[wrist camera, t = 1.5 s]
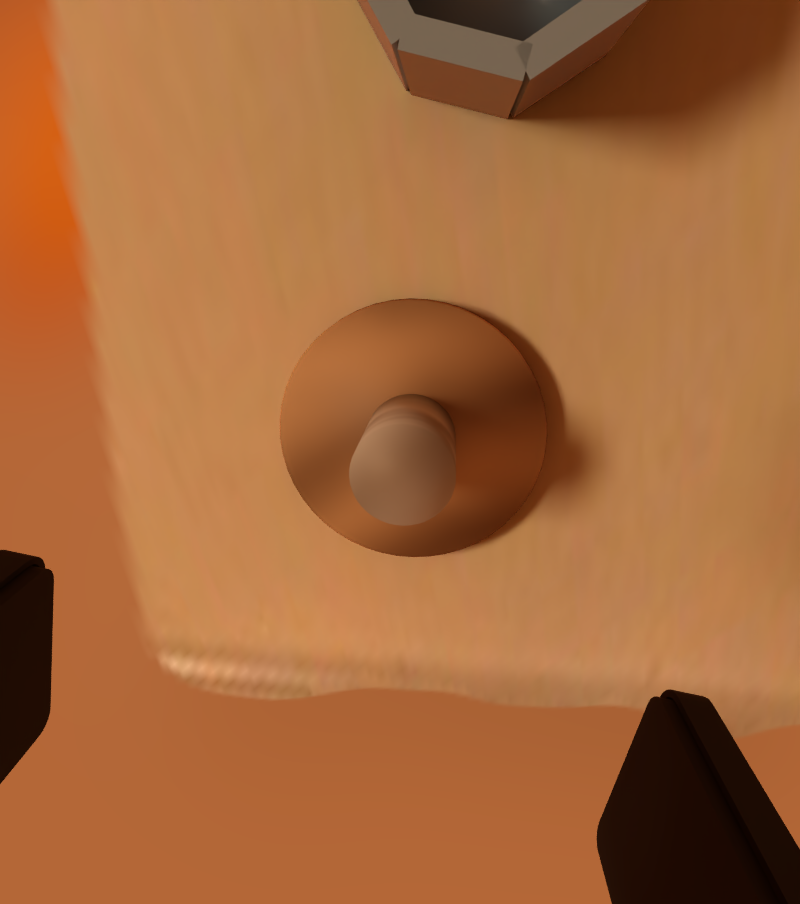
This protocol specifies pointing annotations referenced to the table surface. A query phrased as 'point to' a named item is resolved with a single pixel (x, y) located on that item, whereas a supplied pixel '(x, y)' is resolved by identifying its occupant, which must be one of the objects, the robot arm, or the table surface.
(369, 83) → the table surface
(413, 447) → the lid
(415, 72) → the bowl
